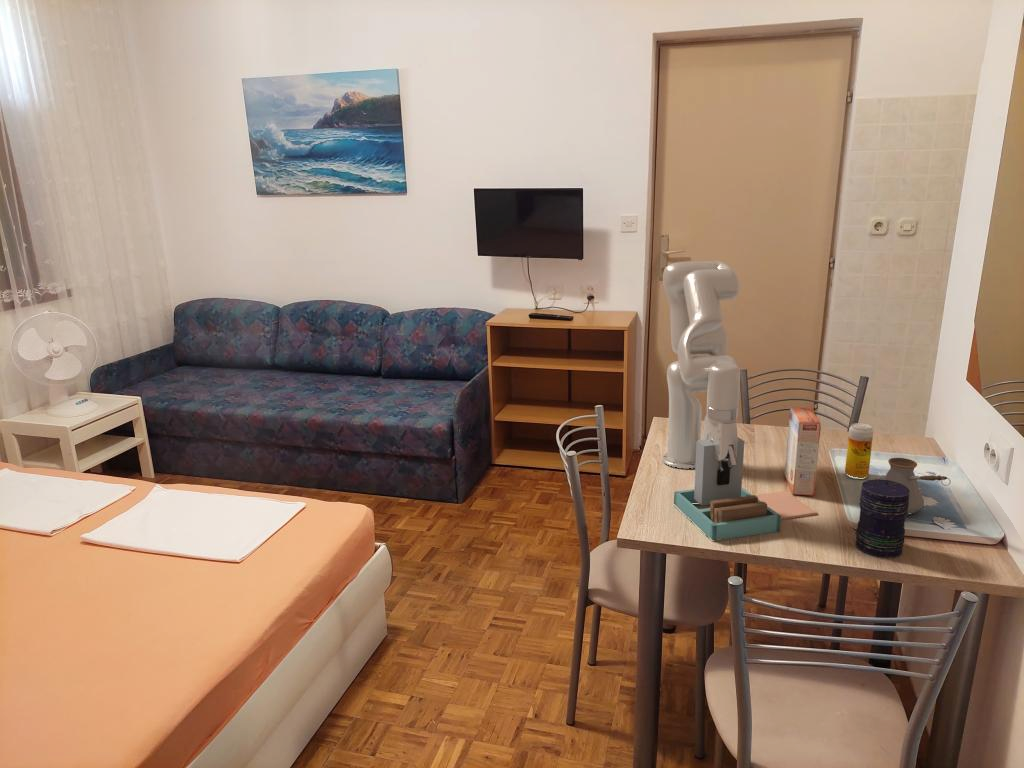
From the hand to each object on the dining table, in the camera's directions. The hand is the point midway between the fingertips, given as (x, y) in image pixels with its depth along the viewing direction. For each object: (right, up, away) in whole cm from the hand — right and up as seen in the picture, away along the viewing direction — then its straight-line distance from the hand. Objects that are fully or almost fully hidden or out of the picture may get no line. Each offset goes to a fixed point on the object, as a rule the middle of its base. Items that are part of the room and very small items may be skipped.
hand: (718, 480), depth 186 cm
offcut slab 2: (+3, -11, -7) cm, 13 cm away
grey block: (0, -5, +2) cm, 5 cm away
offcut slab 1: (+2, -11, -5) cm, 12 cm away
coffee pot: (+47, -9, -4) cm, 48 cm away
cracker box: (+27, -4, +16) cm, 32 cm away
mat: (+17, -7, +4) cm, 19 cm away
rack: (+1, -9, -2) cm, 10 cm away
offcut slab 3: (+3, -12, -9) cm, 15 cm away
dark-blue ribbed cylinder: (+32, -13, -19) cm, 39 cm away
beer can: (+45, -2, +21) cm, 50 cm away
